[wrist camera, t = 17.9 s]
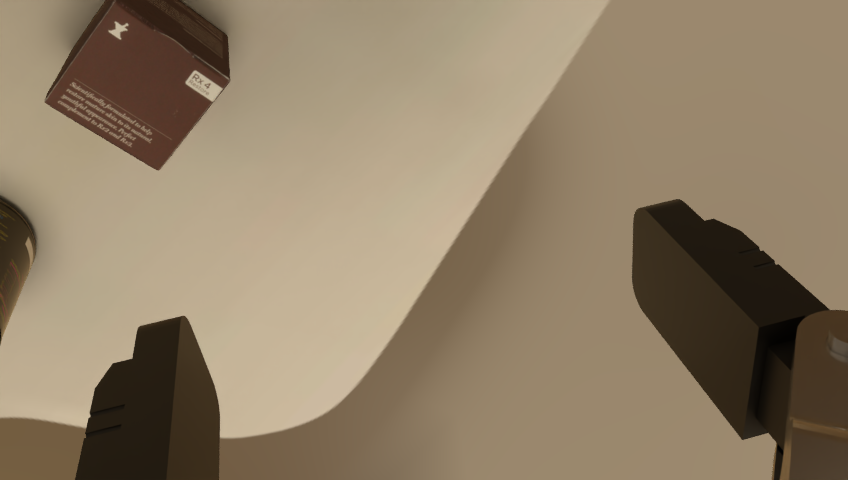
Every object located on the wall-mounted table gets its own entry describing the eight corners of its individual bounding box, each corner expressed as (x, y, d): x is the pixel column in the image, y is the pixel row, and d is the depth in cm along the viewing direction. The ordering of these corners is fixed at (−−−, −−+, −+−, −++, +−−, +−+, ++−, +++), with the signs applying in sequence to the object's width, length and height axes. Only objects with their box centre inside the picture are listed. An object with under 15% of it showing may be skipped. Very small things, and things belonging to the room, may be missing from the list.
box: (67, 52, 40) (38, 101, 34) (132, -39, 38) (113, -5, 32) (168, 118, 43) (158, 175, 37) (232, 37, 41) (232, 81, 35)
